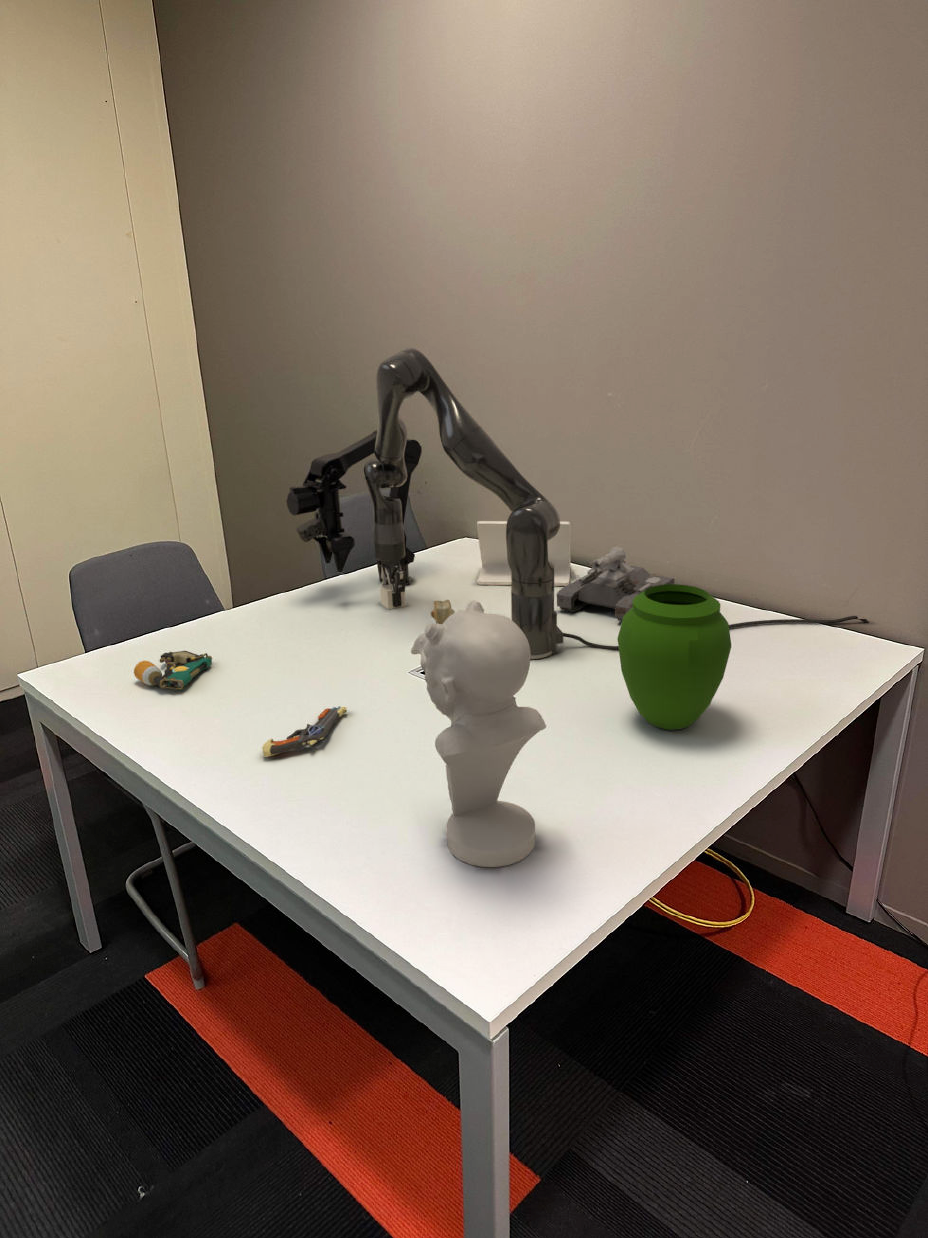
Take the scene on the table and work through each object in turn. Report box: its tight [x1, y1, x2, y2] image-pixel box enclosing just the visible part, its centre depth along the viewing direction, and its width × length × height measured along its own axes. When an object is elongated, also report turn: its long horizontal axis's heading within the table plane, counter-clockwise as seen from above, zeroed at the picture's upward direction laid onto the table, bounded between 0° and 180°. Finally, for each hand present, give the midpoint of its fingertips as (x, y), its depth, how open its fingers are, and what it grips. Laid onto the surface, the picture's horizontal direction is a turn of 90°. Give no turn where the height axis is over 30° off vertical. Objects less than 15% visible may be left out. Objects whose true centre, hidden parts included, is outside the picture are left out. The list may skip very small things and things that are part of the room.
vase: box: [616, 583, 732, 731], centre depth 151 cm, size 20×20×24 cm
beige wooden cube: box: [379, 584, 406, 610], centre depth 218 cm, size 5×5×5 cm
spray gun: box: [133, 650, 213, 690], centre depth 180 cm, size 4×17×15 cm
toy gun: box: [261, 705, 348, 758], centre depth 154 cm, size 3×19×10 cm
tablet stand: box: [476, 520, 572, 587], centre depth 236 cm, size 18×25×17 cm
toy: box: [556, 546, 676, 622], centre depth 212 cm, size 25×20×15 cm
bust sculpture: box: [410, 599, 547, 868], centre depth 121 cm, size 16×24×35 cm
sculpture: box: [430, 599, 456, 624], centre depth 177 cm, size 6×7×15 cm
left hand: (333, 567), depth 221 cm, fingers open, 9 cm apart
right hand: (393, 603), depth 219 cm, fingers closed on beige wooden cube, 4 cm apart
